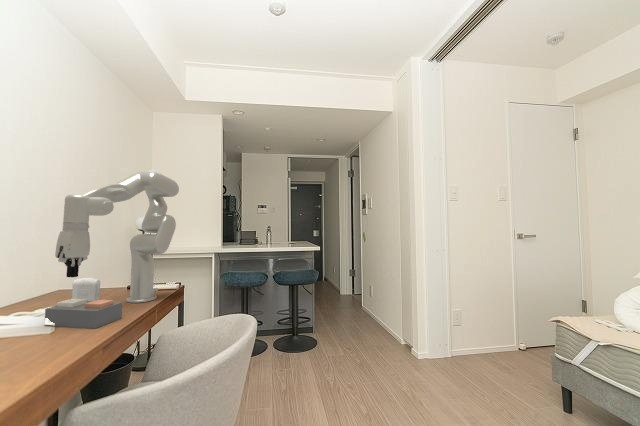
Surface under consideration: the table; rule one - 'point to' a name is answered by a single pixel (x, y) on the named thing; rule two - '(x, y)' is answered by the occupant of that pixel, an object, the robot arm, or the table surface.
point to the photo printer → (86, 289)
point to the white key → (71, 303)
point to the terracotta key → (99, 304)
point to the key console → (84, 315)
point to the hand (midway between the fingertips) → (72, 276)
